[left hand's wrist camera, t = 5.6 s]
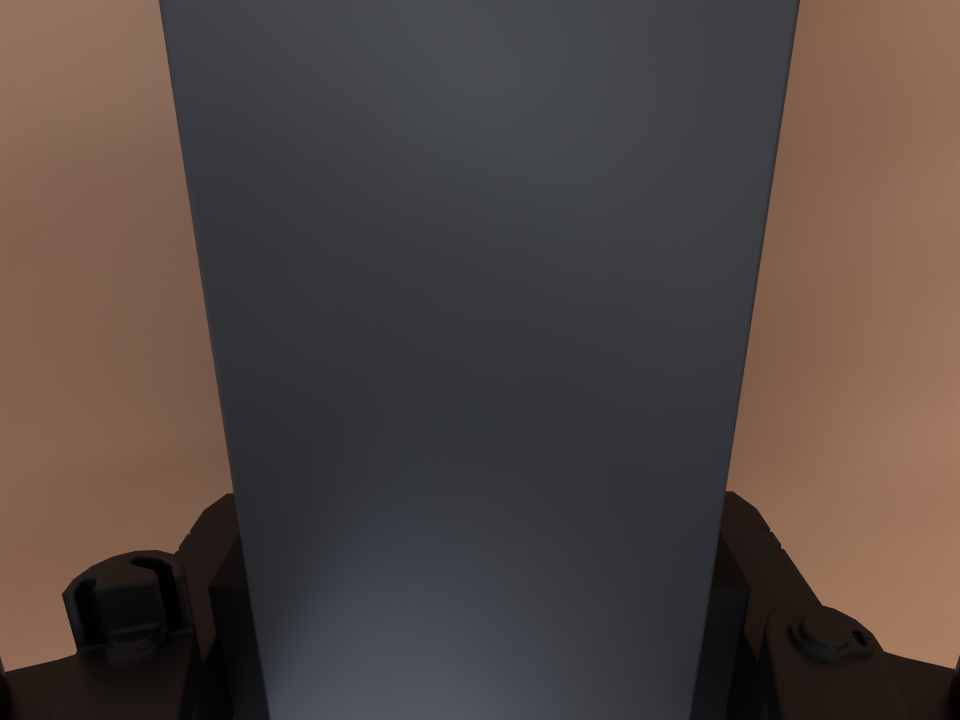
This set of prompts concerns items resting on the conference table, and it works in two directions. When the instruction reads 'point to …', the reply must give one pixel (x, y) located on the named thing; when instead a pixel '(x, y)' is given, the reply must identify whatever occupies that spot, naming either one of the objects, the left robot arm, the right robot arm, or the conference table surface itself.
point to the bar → (479, 335)
